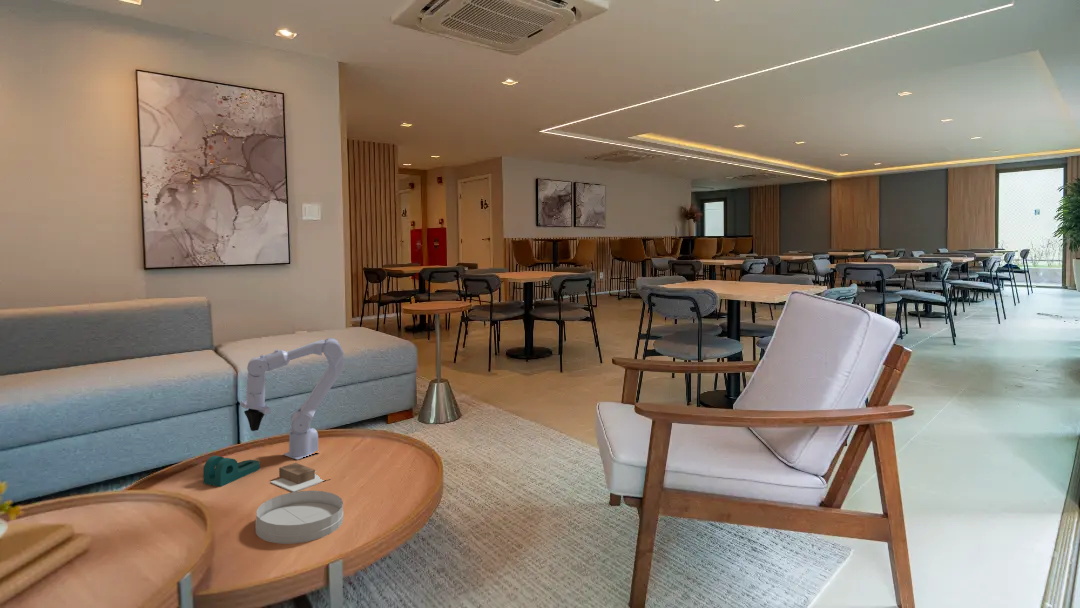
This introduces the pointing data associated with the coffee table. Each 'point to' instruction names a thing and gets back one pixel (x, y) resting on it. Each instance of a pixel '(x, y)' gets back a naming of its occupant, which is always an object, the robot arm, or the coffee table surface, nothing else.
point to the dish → (299, 517)
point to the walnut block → (297, 473)
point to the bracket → (227, 470)
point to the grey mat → (296, 487)
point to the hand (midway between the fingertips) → (254, 430)
